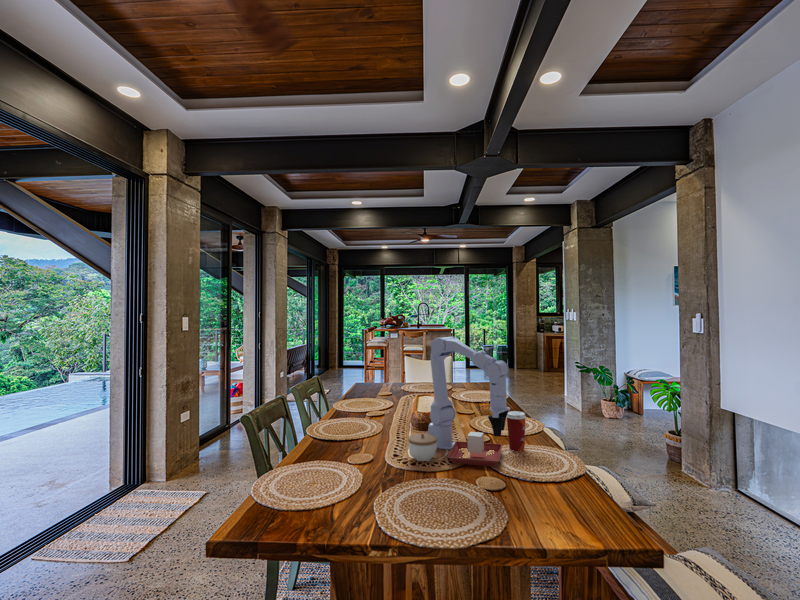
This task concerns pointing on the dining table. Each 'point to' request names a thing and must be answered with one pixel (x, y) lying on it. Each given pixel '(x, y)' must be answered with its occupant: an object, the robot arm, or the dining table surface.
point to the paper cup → (516, 430)
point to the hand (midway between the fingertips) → (499, 433)
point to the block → (475, 442)
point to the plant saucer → (476, 455)
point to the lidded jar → (422, 446)
